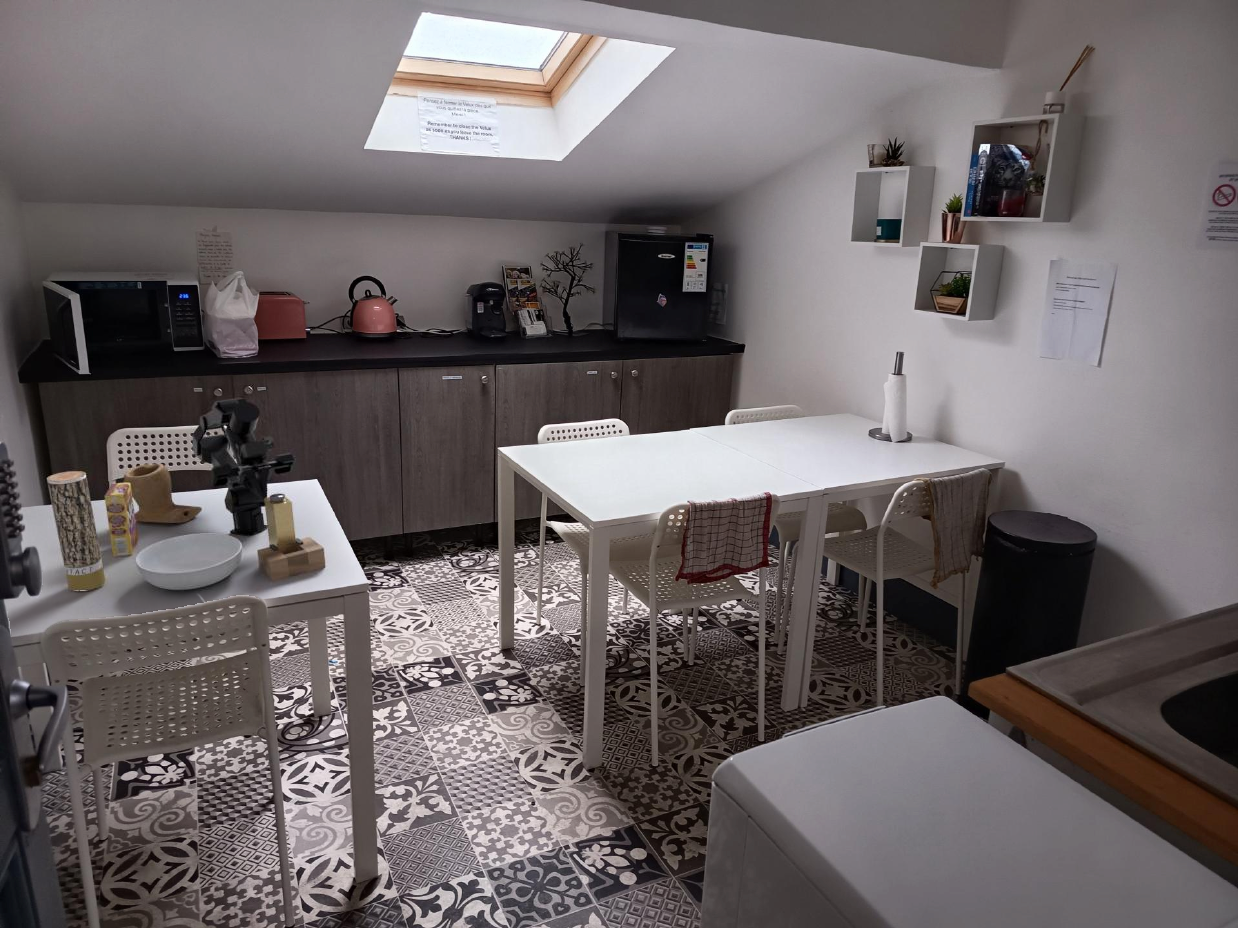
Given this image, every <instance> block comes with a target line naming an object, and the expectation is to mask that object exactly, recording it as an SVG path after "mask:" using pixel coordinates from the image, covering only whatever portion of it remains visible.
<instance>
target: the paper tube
mask: <svg viewBox="0 0 1238 928" xmlns="http://www.w3.org/2000/svg"><path fill="white" fill-rule="evenodd" d="M86 474H87V473H86V472H85V471H81V470H80V471H78V470H71V471H64V472H58V473H55V474H52V475H50V476H48V477H47V478H46V481H47V487H48V492H49V496H50V502H51V506H52V507H51V508H52V511H53V517H54V522H55V526H56V531H57V532H56V533H57V537H58V541H59V545H60V552H61V556H62V560H63V561H62V562H63V566H64V571H65V574H66V575H65V576H66V581H67V587H68V588H69V590H70V591H72V590H79V591H80V590H90V591H92V590H91V589H93V590H96V589H98V588H100V587H102V586H103V585H104V584H105V582H106V577H105V571H104V567H103V560H102V554H101V548H100V544H99V537H98V532H97V527H96V522H95V517H94V516H95V515H94V511H93V505H92V501H91V500H92V499H91V494H90V489H89V484H88V483H89V482H88V478H87V475H86ZM101 585H102V586H101ZM97 587H98V588H97ZM95 588H96V589H95Z"/></svg>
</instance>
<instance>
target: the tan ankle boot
mask: <svg viewBox="0 0 1238 928" xmlns="http://www.w3.org/2000/svg"><path fill="white" fill-rule="evenodd" d="M123 483H130V484H131V492H132V499H133V501H135V503H136V504H137V506H138V511H136V512H134V513H135V519H136V522H142V523H143V522H144V523H156V524H157V523H159V524H160V523H161V524H181V523H186V522H188V521H190V520H192V519H193V518H195V517H197V516H198V515H199V514H200V513H201V512H202V510H203V508H202V506H192V505H184V504H177V503H176V504H175V502H174V500H173V497H172V496H173V495H172V488H173V487H172V486H173V485H172V478H171V475H170V471H169V470H168V468H167V467H166V466H165V465H164V464H162V463H159V462H156V463H153V464H148V463H147V464H141V465H138V466H135V467H133V468H130V469H129V470H128V471H126V472H125V473H124V474H123Z"/></svg>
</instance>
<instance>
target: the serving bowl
mask: <svg viewBox="0 0 1238 928" xmlns="http://www.w3.org/2000/svg"><path fill="white" fill-rule="evenodd" d="M242 555H243V544H242V542H241V541H240V540H239V539H238V538H237V537H234V536H231V535H229V534H224V533H216V532H215V533H214V532H213V533H212V532H211V533H210V532H205V533H204V532H202V533H190V534H184V535H178V536H174V537H171V538H165V539H163V540H161V541H157V542H155V543H152V544H150V545H148V546H147V547H145V548H143V549H142V550H140V552H139V553H138V554H137V555H136V557H135V565H136V568H137V570H138V572H139V574H140V575H141V577H142V578H143V579H144V580H145V581H146V582H148V583H149V584H151V585H153V586H155V587H157V588H160V589H165V590H171V591H184V590H192V589H193V590H194V589H199V588H203V587H204V588H205V587H207V586H211V585H213V584H216V583H218V582H220V581H223V580H224V579H225V578H227V577H228V576H229V575H231V574H232V573H233V572H234V571H235V570H236V569H237V567H238V566H239V564H240V562H241V560H242V559H241V558H242Z"/></svg>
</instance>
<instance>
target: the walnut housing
mask: <svg viewBox="0 0 1238 928" xmlns="http://www.w3.org/2000/svg"><path fill="white" fill-rule="evenodd" d="M295 538H296V537H295ZM296 548H297V552H294V553H290V554H286V555H284V554H283V553H281V552H280V551H279V548H278V547H277V546H276V545H274V544H271V545H268V547H263V548H261V549H257V559H258V566H259V570H260V571H261V572H262V573H263V575H265V576H266V578H268V579H269V580H270V581H271V582H277V581H280V580H284V579H287V578H291V577H294V576H298V575H302V574H306V573H308V572H313V571H316V570H320V569H323V568H326V566H327V565H326V558H325V548H324V547H323V546H322V545H320V544H319V543H318V542H317V541H316V540H315V539H313V538H312V537H311V536H310V537H304V538H299V537H297V538H296Z"/></svg>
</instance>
